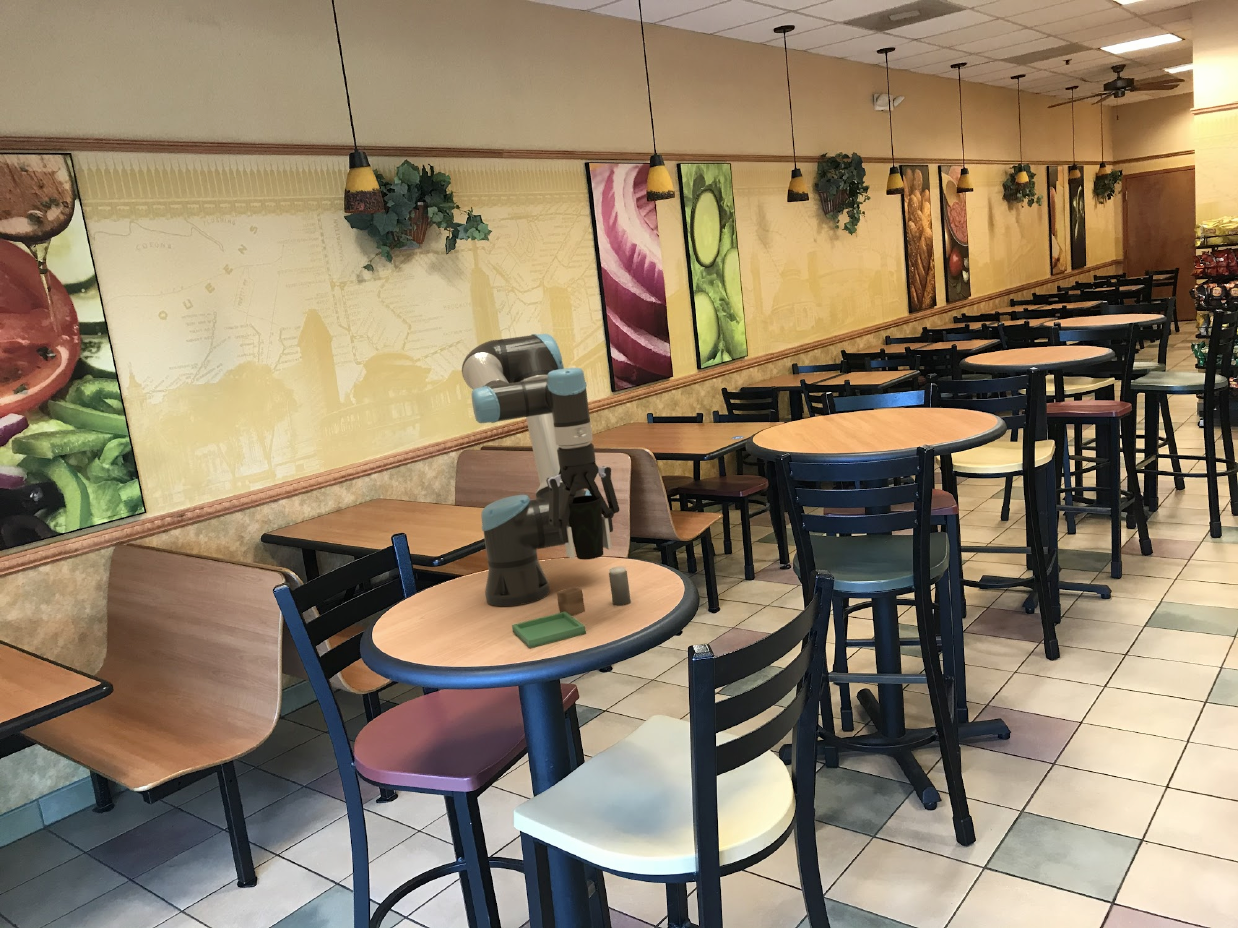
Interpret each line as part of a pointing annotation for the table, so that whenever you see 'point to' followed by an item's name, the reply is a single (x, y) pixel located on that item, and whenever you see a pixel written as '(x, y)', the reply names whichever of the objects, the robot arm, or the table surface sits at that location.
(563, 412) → the robot arm
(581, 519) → the cup
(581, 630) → the tray
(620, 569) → the pepper shaker
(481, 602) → the table surface
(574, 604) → the walnut block
